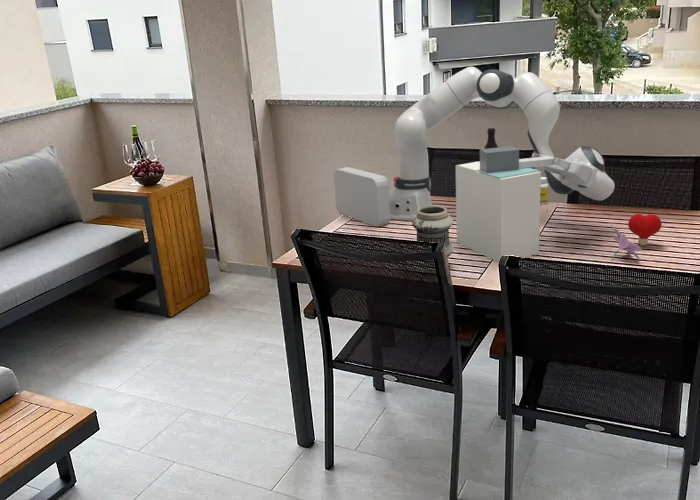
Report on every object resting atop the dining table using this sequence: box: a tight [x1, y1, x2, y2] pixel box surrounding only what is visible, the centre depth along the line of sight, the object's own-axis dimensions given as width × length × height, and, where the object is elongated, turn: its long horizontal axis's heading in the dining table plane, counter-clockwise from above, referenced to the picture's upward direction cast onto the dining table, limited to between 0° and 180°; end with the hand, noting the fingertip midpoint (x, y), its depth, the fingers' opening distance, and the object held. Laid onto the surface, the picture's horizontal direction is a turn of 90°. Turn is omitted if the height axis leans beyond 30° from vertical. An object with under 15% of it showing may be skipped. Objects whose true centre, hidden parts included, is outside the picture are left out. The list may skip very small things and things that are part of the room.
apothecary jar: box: [411, 204, 455, 268], centre depth 196 cm, size 12×12×18 cm
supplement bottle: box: [540, 176, 549, 205], centre depth 254 cm, size 5×5×10 cm
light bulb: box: [627, 213, 662, 247], centre depth 202 cm, size 9×7×10 cm
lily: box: [610, 224, 644, 261], centre depth 193 cm, size 12×12×10 cm
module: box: [479, 145, 554, 173], centre depth 199 cm, size 22×6×6 cm, turn 99°
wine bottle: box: [483, 127, 499, 149], centre depth 250 cm, size 7×7×30 cm
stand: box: [455, 160, 542, 263], centre depth 206 cm, size 14×24×26 cm, turn 24°
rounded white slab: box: [333, 166, 391, 228], centre depth 249 cm, size 29×8×18 cm, turn 33°
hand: (544, 157), depth 201 cm, fingers open, 8 cm apart
